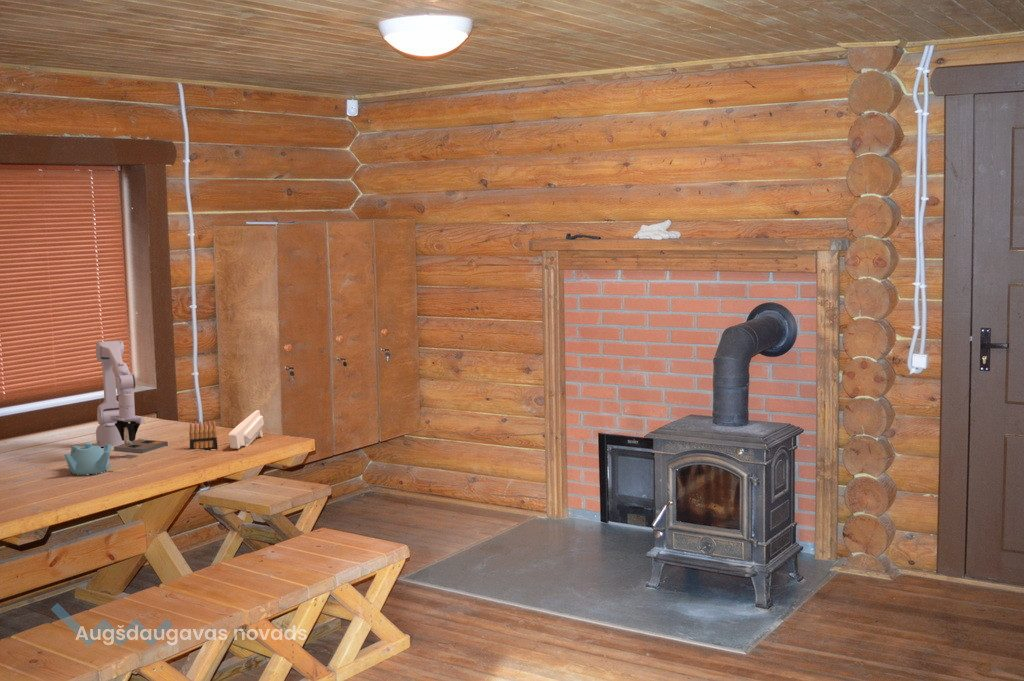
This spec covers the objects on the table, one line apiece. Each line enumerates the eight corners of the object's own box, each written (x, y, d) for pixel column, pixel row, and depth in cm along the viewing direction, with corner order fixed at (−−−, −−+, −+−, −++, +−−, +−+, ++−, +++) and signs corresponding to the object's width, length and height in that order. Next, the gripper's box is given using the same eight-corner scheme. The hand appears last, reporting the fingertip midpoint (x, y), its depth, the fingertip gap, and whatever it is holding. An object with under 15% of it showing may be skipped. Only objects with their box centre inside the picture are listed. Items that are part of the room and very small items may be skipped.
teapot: (114, 465, 396) (113, 437, 394) (110, 475, 381) (108, 445, 380) (71, 468, 392) (69, 440, 390) (65, 478, 377) (63, 448, 376)
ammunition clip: (217, 448, 423) (216, 419, 421) (217, 449, 421) (216, 420, 420) (189, 451, 419) (188, 421, 417) (190, 452, 417) (188, 422, 416)
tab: (118, 459, 404) (118, 457, 404) (127, 457, 409) (127, 454, 409) (131, 461, 402) (131, 458, 402) (140, 458, 407) (139, 455, 407)
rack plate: (114, 452, 416) (113, 446, 416) (139, 445, 430) (139, 438, 430) (142, 455, 411) (142, 449, 411) (167, 447, 425) (167, 441, 425)
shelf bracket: (267, 437, 444) (264, 410, 440) (242, 463, 421) (238, 434, 417) (255, 437, 445) (251, 409, 441) (229, 462, 422) (225, 433, 418)
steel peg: (122, 445, 404) (121, 427, 403) (128, 443, 407) (127, 425, 406) (129, 445, 403) (128, 427, 402) (134, 444, 406) (133, 426, 405)
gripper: (104, 406, 402) (105, 441, 404) (134, 408, 397) (136, 443, 399) (117, 403, 408) (118, 437, 410) (147, 405, 403) (149, 440, 405)
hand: (128, 440), depth 405 cm, fingers closed on steel peg, 3 cm apart
